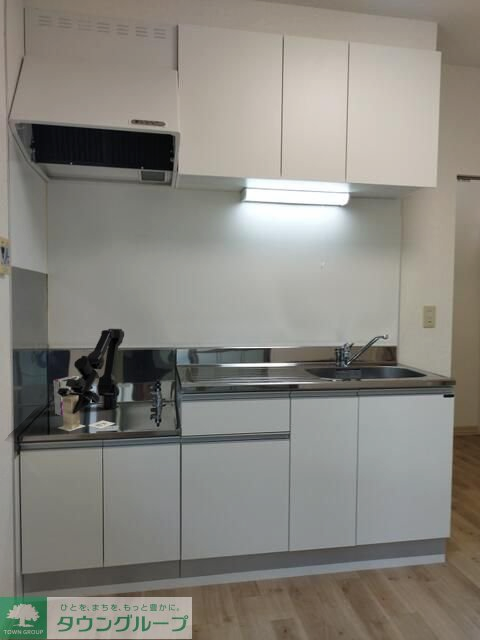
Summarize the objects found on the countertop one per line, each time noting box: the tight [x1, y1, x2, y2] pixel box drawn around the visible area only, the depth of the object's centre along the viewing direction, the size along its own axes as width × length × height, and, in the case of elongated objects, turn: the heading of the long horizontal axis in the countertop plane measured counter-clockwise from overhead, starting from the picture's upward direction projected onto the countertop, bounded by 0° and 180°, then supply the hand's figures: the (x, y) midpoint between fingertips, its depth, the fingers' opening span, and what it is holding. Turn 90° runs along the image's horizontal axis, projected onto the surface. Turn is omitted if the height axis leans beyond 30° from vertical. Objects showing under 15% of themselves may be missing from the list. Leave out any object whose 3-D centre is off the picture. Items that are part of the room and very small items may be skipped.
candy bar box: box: [53, 375, 81, 417], centre depth 211 cm, size 11×5×16 cm, turn 148°
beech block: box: [62, 395, 81, 429], centre depth 190 cm, size 4×4×13 cm
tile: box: [57, 424, 85, 432], centre depth 190 cm, size 8×8×1 cm
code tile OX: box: [88, 420, 116, 430], centre depth 194 cm, size 8×8×1 cm
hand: (68, 412), depth 189 cm, fingers closed on beech block, 4 cm apart
